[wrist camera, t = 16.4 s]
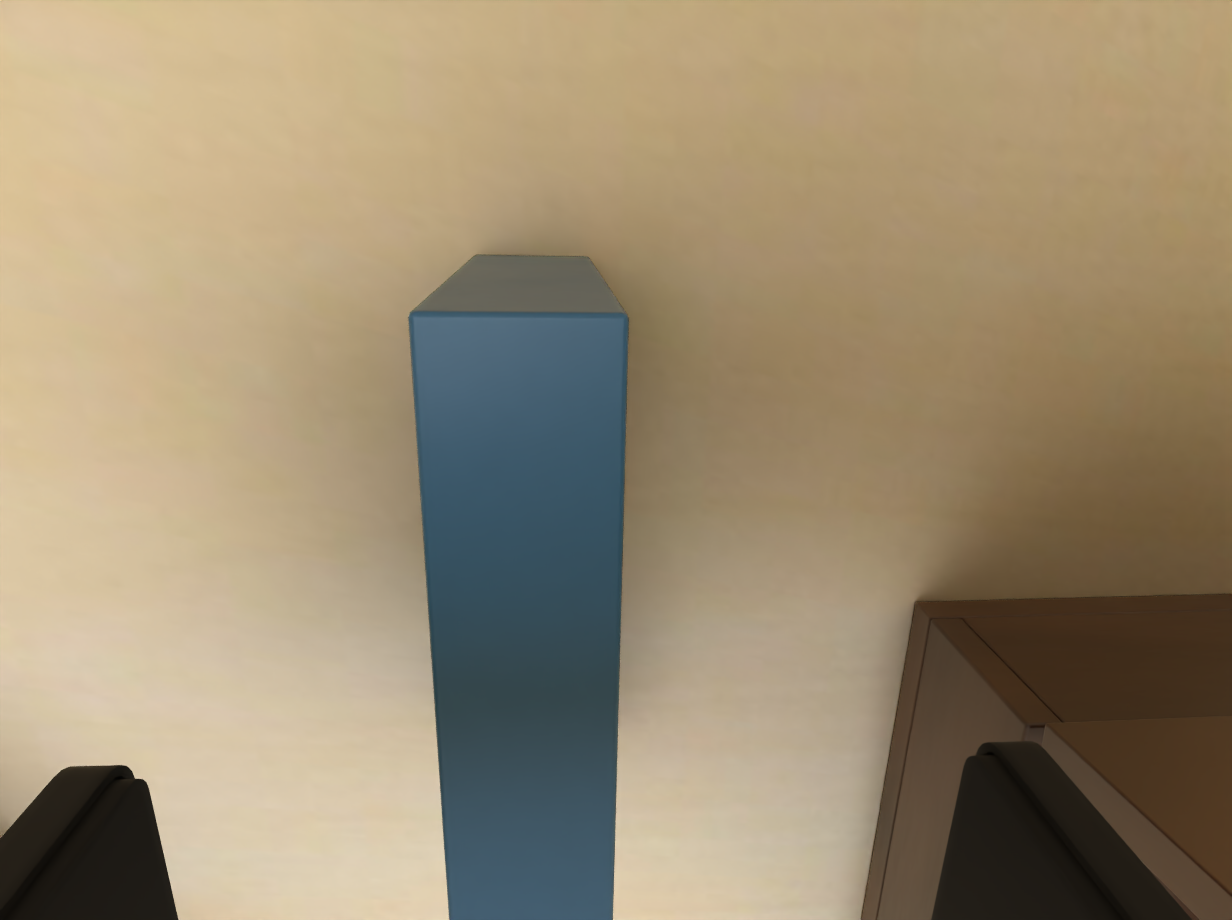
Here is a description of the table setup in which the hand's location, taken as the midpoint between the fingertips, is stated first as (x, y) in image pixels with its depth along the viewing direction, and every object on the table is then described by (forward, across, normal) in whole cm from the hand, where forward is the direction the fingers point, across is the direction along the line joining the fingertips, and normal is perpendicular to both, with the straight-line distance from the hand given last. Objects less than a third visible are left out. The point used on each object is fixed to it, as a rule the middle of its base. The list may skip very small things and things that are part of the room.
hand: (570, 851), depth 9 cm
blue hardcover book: (+10, +1, 0) cm, 10 cm away
